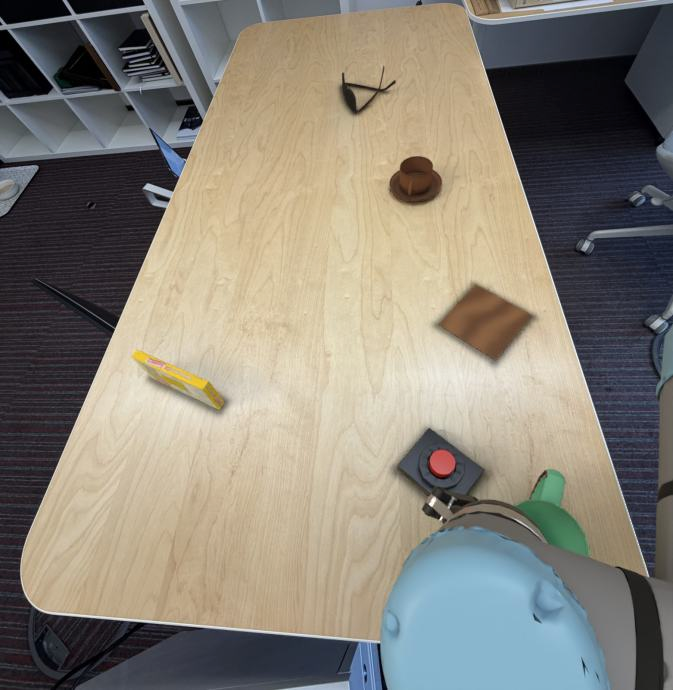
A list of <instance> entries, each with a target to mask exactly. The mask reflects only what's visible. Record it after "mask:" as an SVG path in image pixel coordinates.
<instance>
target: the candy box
mask: <svg viewBox="0 0 673 690" xmlns="http://www.w3.org/2000/svg"><path fill="white" fill-rule="evenodd" d="M130 358H131V359H132V360H134V362H135V363H136V364H137V365H139V367H140V368H142V370H143V371H144V372H146V374H148V376H149V377H150V378H151V379H152V380H155V381H157V382H159V383H161V384H163V385H165V386H167V387H170V388H171V389H174V390H175V391H177V392H180V393H182V394H183V395H186V396H188V397H190V398H193V399H195V400H197V401H199V402H201V403H203V404H205V405H208V406H210V407H212V408H214V409H216V410H219V411H220V410H221V409H222V407H223V406H224V405H225V400H224V399H223V397H222V396H221V395H220V394H219V392H218V391H217V389H216V388H215V387H214V386H213V384H212V383H211V382H210V381H209V380H207V379H204V378H202V377H200V376H198V375H195V374H194V373H191V372H188V371H187V370H184V369H182V368H179V367H178V366H176V365H173V364H170V363H168V362H166V361H164V360H161V359H159V358H157V357H155V356H152V355H150V354H148V353H146V352H143V351H141V350H139V349H136V350H135V351H134V352H133V353H132V354H131V355H130Z"/></svg>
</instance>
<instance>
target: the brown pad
mask: <svg viewBox="0 0 673 690" xmlns="http://www.w3.org/2000/svg"><path fill="white" fill-rule="evenodd" d="M532 317H533V315H532V314H531V313H529V312H527V311H525V310H523V309H521V308H520V307H518V306H516V305H515V304H512V303H510V302H508V301H506V300H505V299H503V298H501V297H499V296H498V295H496V294H494V293H493V292H490V291H489V290H487V289H486V288H483V287H481V286H480V285H477V284H474V285H473V286H472V287H471V288H470V289H469V291H467V293H466V294H464V296H463V297H462V299H460V300H459V302H458V303H456V305H455V306H454V307H453V308H452V309H451V310H450V311H449V312H448V313H447V314H446V315H445V317H444V318H443V319H442V320H441V321H440V322H439V323H438V326H439V327H440V328H442V329H444V330H446V331H447V332H448V333H450V334H452V335H454V336H455V337H456V338H458V339H460V340H461V341H463V342H465V343H466V344H468V345H470V346H471V347H473V348H474V349H476V350H477V351H478V352H480V353H483V355H485V356H487V357H488V358H490V359H492V360H494V361H496V360H498V358H499V357H500V356H501V355H502V353H503V352H504V351H505V350H506V348H507V347H508V346H509V345H510V344H511V343H512V342H513V340H514V339H515V337H517V335H518V334H519V333H520V331H521V330H522V329H523V328H524V326H525V325H526V324H527V323H528V322H529V321H530V319H531V318H532Z"/></svg>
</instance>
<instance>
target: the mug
mask: <svg viewBox="0 0 673 690" xmlns="http://www.w3.org/2000/svg"><path fill="white" fill-rule="evenodd" d="M565 487H566V479H565V476H564V475H563V474H562V473H561V472H560V471H559V470H557V469H555V468H547V469H544V470H543V471H542V473H541V474H540V475H539V476H538V478H537V480H536V482H535V484H534V487H533V489H532V491H531V493H530V496H529V498H528V499H524V500H522V501H520V502H517V503H515V504H513V506H515V507H517V508H518V509H520V510H521V511H523V512H524V513H526V514H527V515H528V516H529V517H530V518H531V519H532V520H533V521H534V522H535V523H536V524H537V525H538V527H539V528H540V529H541V531H542V533H543V534H544V536H545V538H546V540H547V542H548V544H551V545H554V546H557V547H559V548H562V549H565V550H568V551H571V552H574V553H577V554H580V555H583V556H585V557H588V558H591V556H590V555H591V554H590V553H591V552H590V549H591V548H590V545H589V541H588V538H587V536H586V532H585V531H584V529H583V527H582V525H580V523H579V521H578V520H577V519H576V517H574V516H573V515H572V514H571V513H570V512H569V511H568V510H567V509H565V508H564V507H562V506H561V505H562V500H563V498H564V497H563V496H564V493H565V492H564V491H565Z"/></svg>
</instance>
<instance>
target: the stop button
mask: <svg viewBox="0 0 673 690" xmlns="http://www.w3.org/2000/svg"><path fill="white" fill-rule="evenodd" d="M455 465H456V463H455V459H454V457H453V455H452V454H451V453H450V452H448V451H446V450H437V451H435V452H434V453H433V454H432V455H431V457H430V461H429V467H430V470H431V472H432V473H433V474H434V475H436V476H438V477H448V476H449V475H451V474H452V472H453V470H454V468H455Z"/></svg>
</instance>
